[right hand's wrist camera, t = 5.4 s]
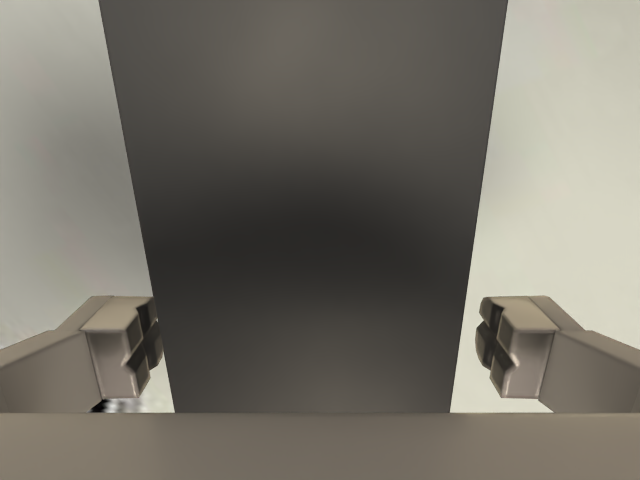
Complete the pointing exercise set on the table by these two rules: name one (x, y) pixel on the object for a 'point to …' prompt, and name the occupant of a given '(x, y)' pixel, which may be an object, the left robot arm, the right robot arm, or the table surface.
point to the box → (307, 192)
